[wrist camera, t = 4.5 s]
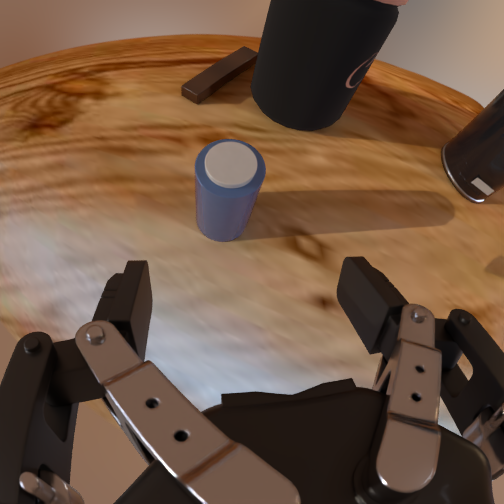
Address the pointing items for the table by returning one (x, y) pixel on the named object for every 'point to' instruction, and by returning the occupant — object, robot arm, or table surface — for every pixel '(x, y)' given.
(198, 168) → the salt shaker
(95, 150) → the table surface
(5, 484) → the robot arm
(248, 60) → the walnut stick
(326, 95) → the coffee jar
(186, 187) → the table surface
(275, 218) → the table surface
